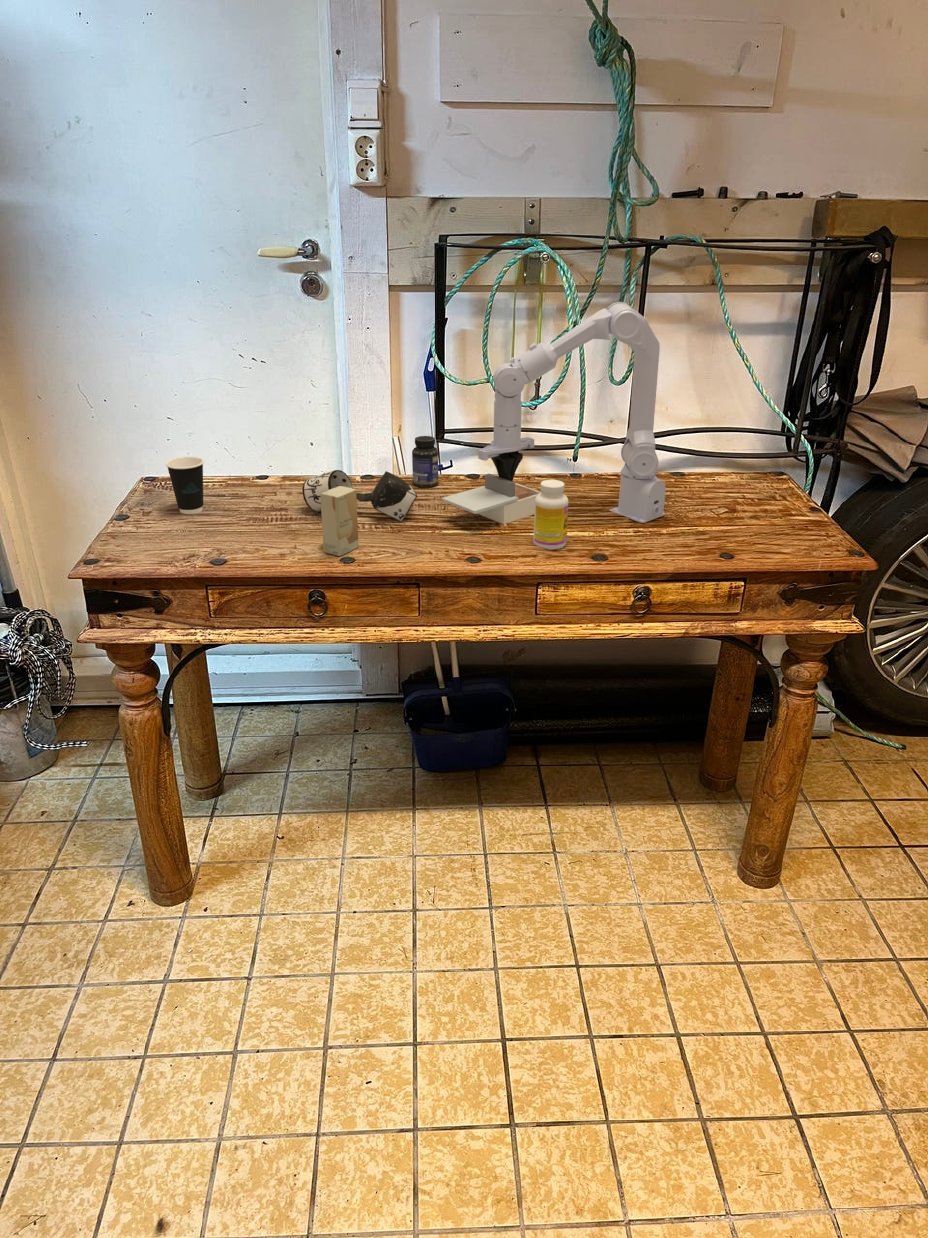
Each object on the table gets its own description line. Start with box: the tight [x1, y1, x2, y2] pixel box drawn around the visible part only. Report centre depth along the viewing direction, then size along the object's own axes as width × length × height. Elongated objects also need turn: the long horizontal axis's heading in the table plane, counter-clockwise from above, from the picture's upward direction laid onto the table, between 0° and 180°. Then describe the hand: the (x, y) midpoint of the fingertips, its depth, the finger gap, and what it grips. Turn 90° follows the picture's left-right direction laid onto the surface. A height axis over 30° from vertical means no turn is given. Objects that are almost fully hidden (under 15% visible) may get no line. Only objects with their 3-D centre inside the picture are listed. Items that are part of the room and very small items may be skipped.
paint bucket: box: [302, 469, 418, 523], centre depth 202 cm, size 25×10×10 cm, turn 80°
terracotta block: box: [515, 488, 528, 500], centre depth 206 cm, size 4×4×4 cm
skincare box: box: [320, 486, 359, 557], centre depth 185 cm, size 6×4×12 cm
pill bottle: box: [411, 435, 440, 489], centre depth 221 cm, size 6×6×11 cm
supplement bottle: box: [532, 479, 569, 551], centre depth 187 cm, size 7×7×13 cm
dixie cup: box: [165, 456, 205, 515], centre depth 204 cm, size 8×8×11 cm
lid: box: [441, 473, 519, 515], centre depth 198 cm, size 12×10×4 cm
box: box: [477, 482, 541, 525], centre depth 205 cm, size 12×10×5 cm
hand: (505, 486), depth 202 cm, fingers closed
